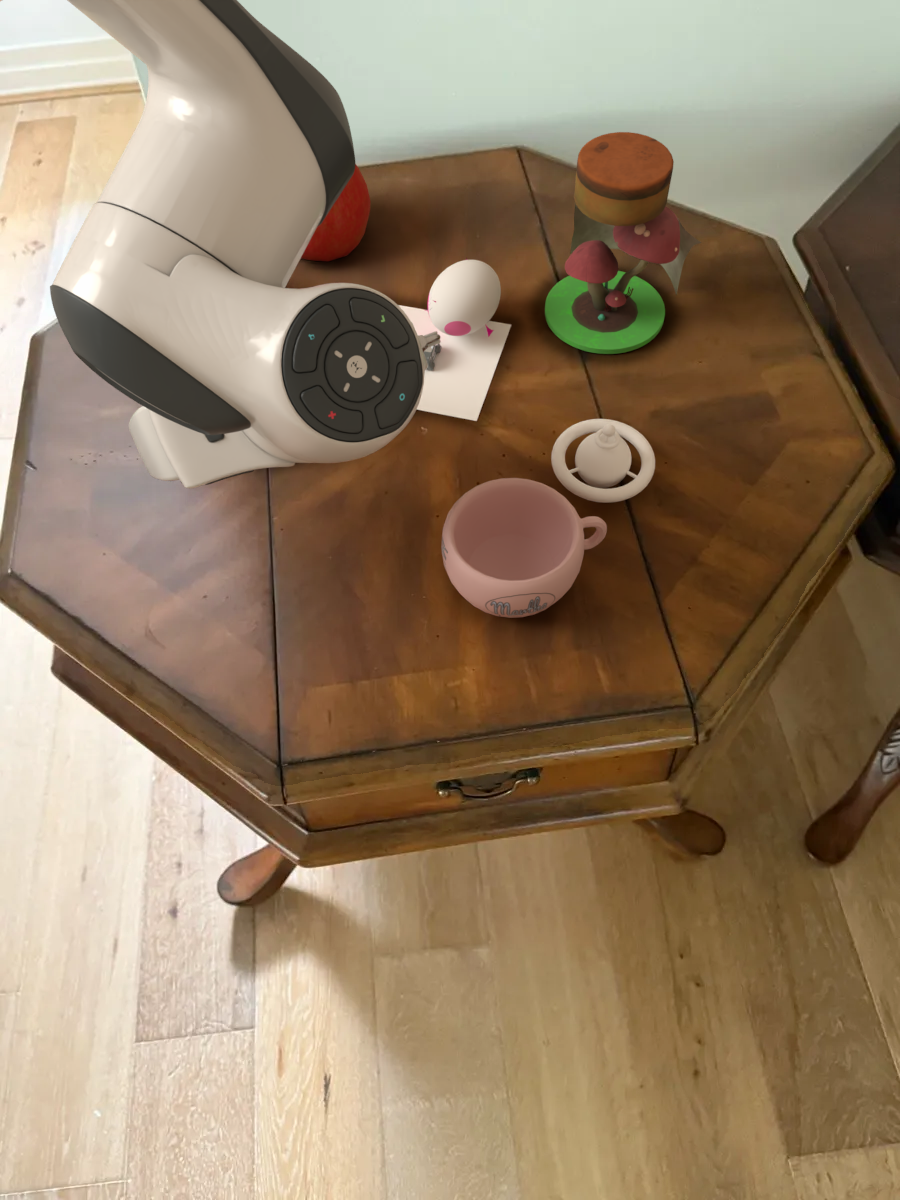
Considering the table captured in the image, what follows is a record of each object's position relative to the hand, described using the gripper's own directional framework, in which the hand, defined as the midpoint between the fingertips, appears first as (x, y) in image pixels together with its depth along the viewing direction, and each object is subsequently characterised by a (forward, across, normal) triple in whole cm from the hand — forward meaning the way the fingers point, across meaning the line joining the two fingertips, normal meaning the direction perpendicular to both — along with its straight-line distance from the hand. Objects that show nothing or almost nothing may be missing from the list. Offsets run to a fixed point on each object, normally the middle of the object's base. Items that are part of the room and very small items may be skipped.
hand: (267, 402), depth 72 cm
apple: (+22, -14, -12) cm, 29 cm away
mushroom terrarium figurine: (+6, -32, +4) cm, 33 cm away
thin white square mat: (+8, -16, +2) cm, 18 cm away
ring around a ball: (-5, -22, +14) cm, 26 cm away
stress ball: (+10, -20, 0) cm, 22 cm away
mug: (-8, -12, +18) cm, 23 cm away
